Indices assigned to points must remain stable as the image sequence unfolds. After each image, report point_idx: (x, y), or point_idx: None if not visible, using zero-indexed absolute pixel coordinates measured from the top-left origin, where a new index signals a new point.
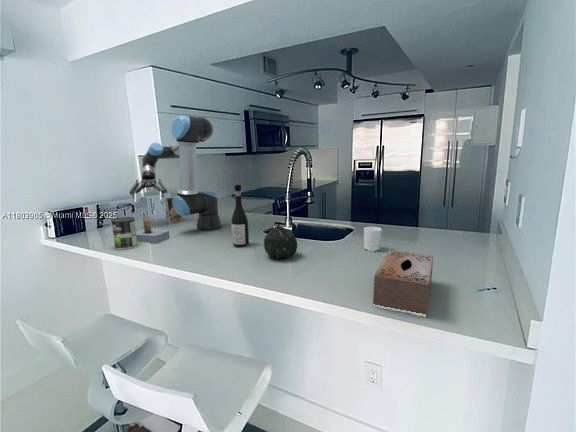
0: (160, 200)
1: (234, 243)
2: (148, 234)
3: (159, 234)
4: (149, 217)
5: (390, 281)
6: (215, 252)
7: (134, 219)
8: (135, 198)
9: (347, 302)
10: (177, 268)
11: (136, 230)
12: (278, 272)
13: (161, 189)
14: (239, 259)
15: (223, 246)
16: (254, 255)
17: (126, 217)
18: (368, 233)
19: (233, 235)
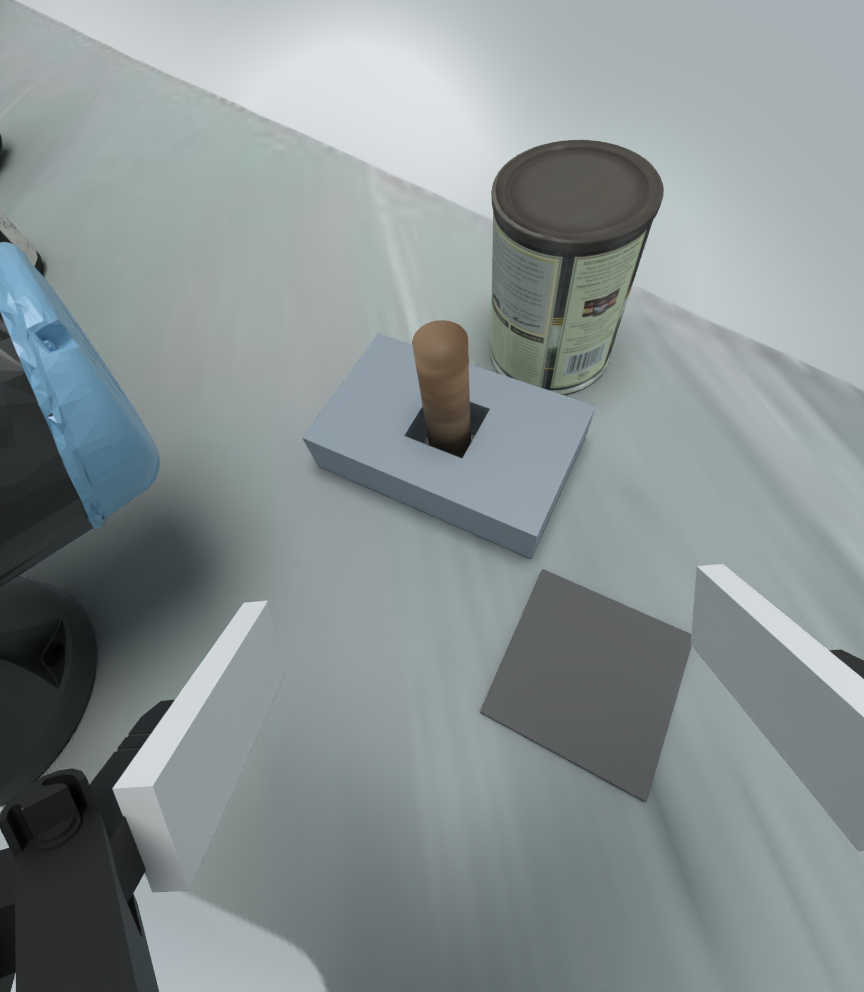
0: (264, 615)
1: (33, 247)
2: None
3: (360, 359)
4: (414, 350)
5: None
6: (140, 223)
7: (492, 205)
8: (752, 607)
9: (22, 19)
10: (288, 130)
11: (652, 777)
12: (46, 97)
13: (48, 880)
14: (91, 165)
15: (84, 276)
16: (30, 186)
17: (575, 233)
18: None
19: (2, 214)
